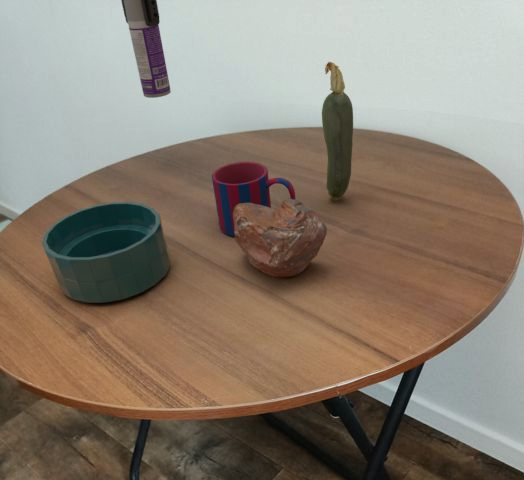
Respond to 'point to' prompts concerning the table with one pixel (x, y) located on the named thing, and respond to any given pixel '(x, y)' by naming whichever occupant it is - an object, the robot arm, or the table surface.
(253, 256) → the stone
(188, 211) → the table surface
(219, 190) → the mug
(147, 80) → the container
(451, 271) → the table surface
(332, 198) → the vegetable
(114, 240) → the teal pet bowl
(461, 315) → the table surface
